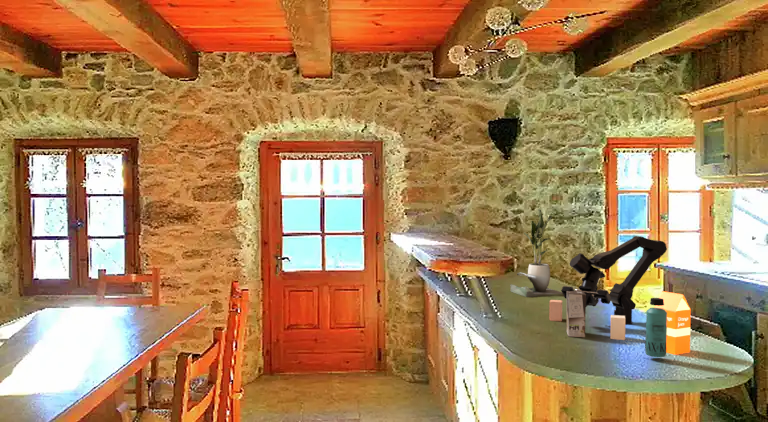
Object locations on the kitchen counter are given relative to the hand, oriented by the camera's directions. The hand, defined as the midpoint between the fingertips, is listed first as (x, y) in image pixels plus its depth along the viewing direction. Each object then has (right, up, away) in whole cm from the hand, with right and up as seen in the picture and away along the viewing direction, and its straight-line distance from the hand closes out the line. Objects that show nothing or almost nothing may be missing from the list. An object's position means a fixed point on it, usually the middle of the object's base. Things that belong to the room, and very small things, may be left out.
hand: (579, 311), depth 252 cm
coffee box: (-4, -8, -9) cm, 12 cm away
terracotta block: (-4, -6, +19) cm, 20 cm away
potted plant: (+4, -4, +88) cm, 88 cm away
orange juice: (+21, -8, -33) cm, 40 cm away
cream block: (+10, -8, -14) cm, 19 cm away
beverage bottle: (+11, -9, -44) cm, 47 cm away
